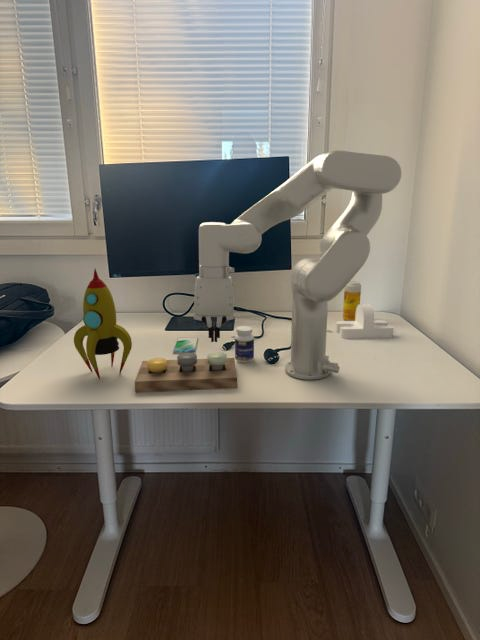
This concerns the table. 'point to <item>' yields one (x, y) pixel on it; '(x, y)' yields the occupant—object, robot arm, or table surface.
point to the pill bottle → (244, 344)
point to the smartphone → (185, 345)
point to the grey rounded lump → (187, 361)
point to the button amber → (157, 365)
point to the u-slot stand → (364, 325)
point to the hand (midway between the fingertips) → (214, 340)
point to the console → (187, 377)
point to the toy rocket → (100, 326)
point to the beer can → (351, 300)
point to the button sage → (217, 360)
